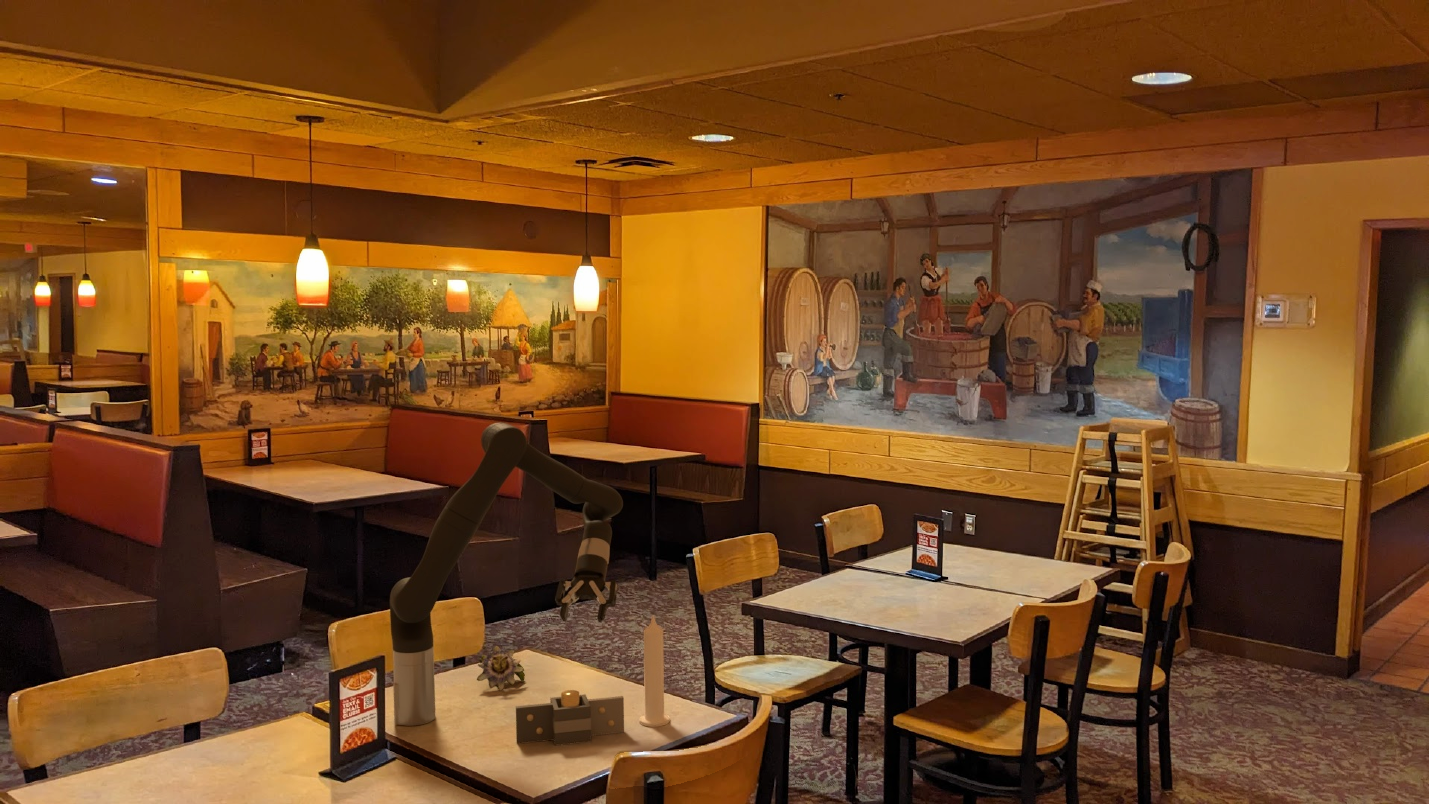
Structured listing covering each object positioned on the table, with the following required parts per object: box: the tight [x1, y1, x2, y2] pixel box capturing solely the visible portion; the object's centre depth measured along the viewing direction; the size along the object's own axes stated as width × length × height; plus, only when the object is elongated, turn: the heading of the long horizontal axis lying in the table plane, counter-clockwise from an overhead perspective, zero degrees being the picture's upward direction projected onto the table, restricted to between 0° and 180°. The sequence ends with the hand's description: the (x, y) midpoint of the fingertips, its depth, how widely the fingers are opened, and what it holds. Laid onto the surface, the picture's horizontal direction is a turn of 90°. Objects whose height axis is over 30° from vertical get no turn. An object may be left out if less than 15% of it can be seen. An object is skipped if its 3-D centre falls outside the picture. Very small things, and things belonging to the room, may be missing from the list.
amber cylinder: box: [560, 689, 580, 708], centre depth 240 cm, size 4×4×10 cm
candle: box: [638, 615, 671, 728], centre depth 248 cm, size 7×7×25 cm
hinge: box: [515, 693, 625, 746], centre depth 240 cm, size 24×8×8 cm, turn 105°
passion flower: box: [476, 645, 526, 692], centre depth 275 cm, size 11×11×12 cm
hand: (581, 620), depth 249 cm, fingers open, 8 cm apart
